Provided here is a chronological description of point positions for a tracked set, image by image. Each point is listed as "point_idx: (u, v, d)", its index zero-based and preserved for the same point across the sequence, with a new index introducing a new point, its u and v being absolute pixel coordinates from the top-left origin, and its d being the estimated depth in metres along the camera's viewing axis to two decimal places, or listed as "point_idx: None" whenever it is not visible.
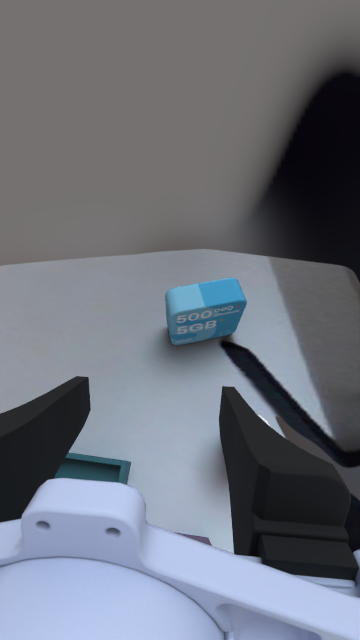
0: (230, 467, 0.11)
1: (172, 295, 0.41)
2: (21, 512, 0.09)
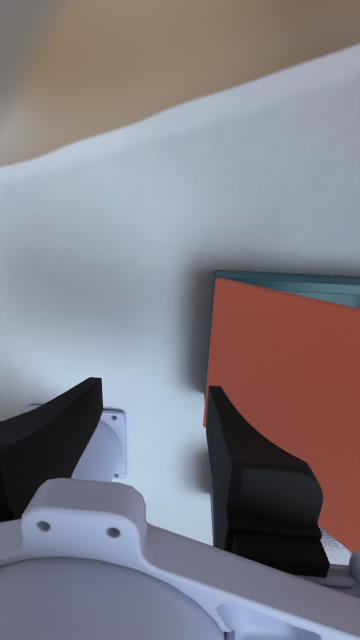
0: (213, 466, 0.11)
1: None
2: None
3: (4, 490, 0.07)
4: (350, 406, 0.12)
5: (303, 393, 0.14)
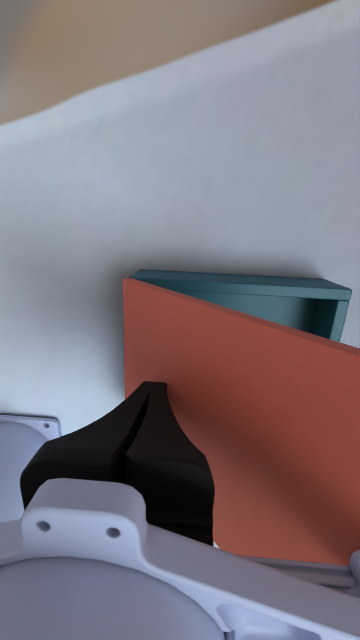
0: None
1: None
2: None
3: None
4: (232, 419, 0.11)
5: (196, 403, 0.12)
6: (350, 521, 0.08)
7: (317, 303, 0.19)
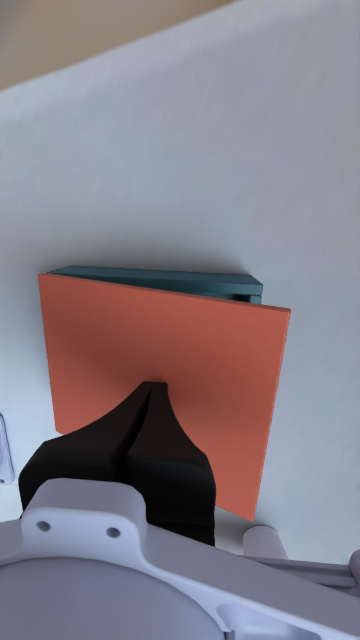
0: None
1: None
2: None
3: None
4: (169, 374, 0.14)
5: (135, 372, 0.15)
6: (255, 411, 0.12)
7: (242, 298, 0.19)
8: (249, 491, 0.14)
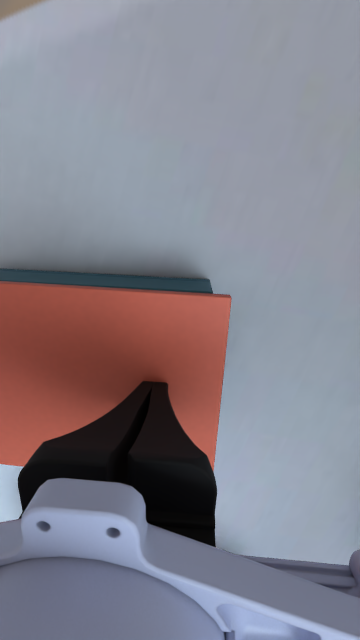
0: None
1: None
2: None
3: None
4: (123, 370, 0.14)
5: (84, 375, 0.14)
6: (207, 388, 0.14)
7: None
8: None
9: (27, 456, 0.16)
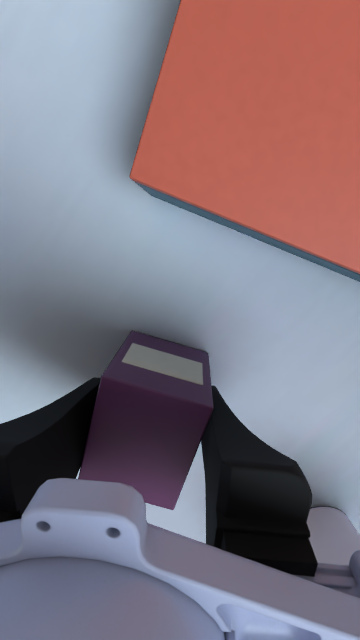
0: (206, 465, 0.11)
1: None
2: None
3: (12, 491, 0.07)
4: None
5: None
6: None
7: None
8: None
9: (227, 187, 0.08)
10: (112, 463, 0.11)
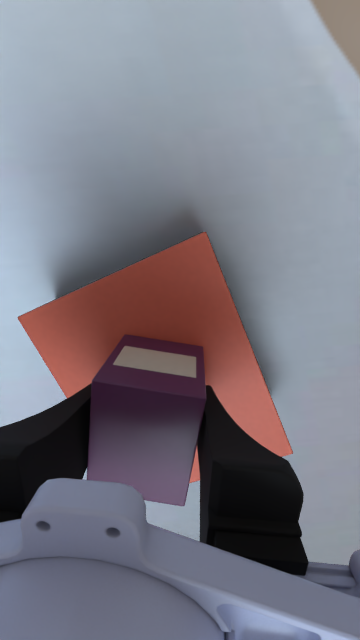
0: (201, 465, 0.11)
1: None
2: None
3: (22, 492, 0.07)
4: None
5: None
6: None
7: None
8: None
9: (56, 358, 0.16)
10: (116, 466, 0.11)
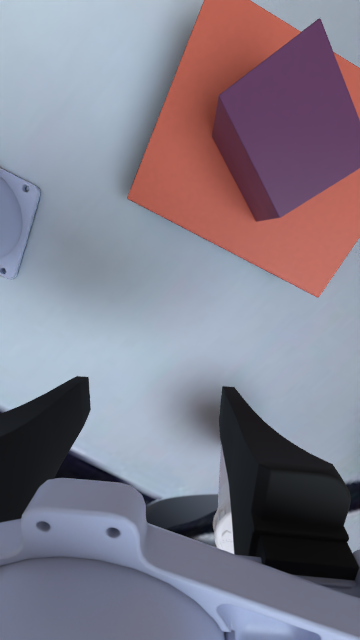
0: (230, 467, 0.11)
1: None
2: (21, 512, 0.09)
3: None
4: None
5: None
6: None
7: None
8: (331, 269, 0.18)
9: (175, 208, 0.17)
10: (289, 166, 0.12)
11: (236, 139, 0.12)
